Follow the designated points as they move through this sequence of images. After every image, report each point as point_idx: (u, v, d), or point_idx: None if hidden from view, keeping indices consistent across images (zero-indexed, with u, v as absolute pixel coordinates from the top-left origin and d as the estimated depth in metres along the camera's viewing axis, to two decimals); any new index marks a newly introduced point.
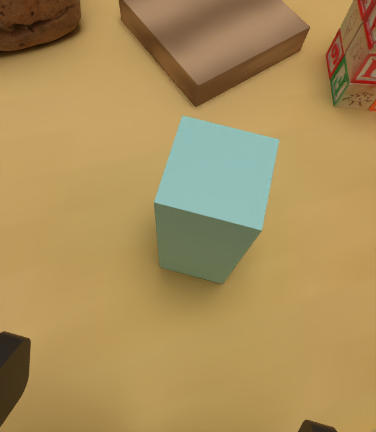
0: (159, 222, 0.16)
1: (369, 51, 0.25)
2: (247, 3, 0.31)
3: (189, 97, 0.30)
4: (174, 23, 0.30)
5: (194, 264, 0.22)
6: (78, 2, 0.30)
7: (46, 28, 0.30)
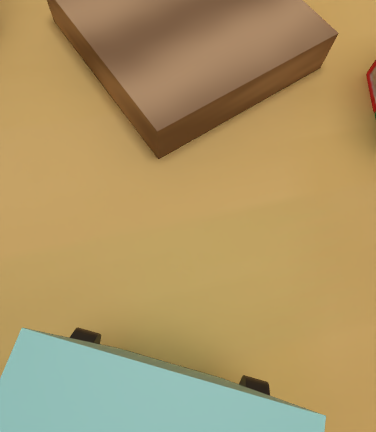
0: None
1: None
2: None
3: (148, 144, 0.19)
4: (124, 26, 0.19)
5: None
6: None
7: None
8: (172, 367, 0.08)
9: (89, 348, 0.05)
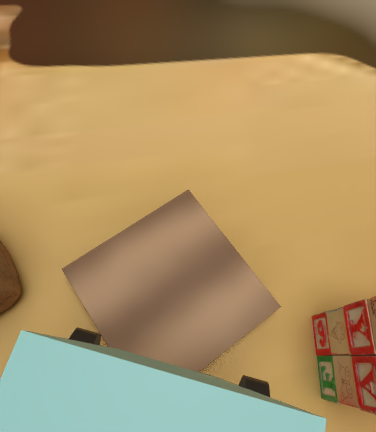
0: None
1: (359, 406, 0.21)
2: (209, 273, 0.28)
3: None
4: (124, 311, 0.26)
5: None
6: (14, 289, 0.26)
7: None
8: (172, 369, 0.08)
9: (88, 350, 0.05)
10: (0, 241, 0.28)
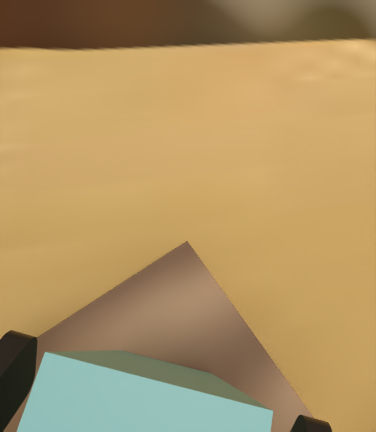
0: None
1: None
2: None
3: None
4: None
5: None
6: None
7: None
8: (164, 372, 0.09)
9: (96, 365, 0.07)
10: None
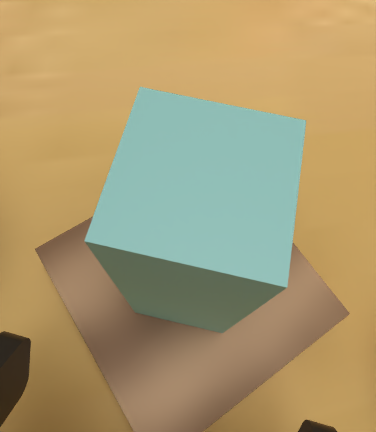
0: (108, 268, 0.10)
1: None
2: None
3: None
4: (122, 313, 0.18)
5: (179, 314, 0.15)
6: None
7: None
8: None
9: (177, 95, 0.09)
10: None
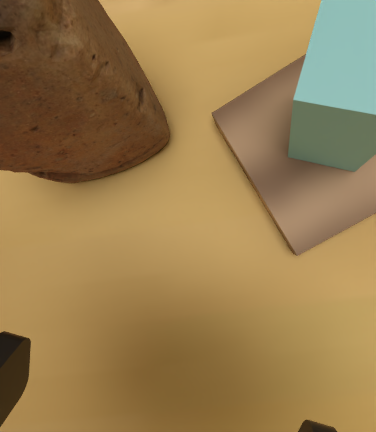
0: (295, 117, 0.16)
1: None
2: None
3: None
4: (276, 159, 0.25)
5: (326, 154, 0.21)
6: (166, 131, 0.26)
7: (134, 162, 0.28)
8: None
9: None
10: None
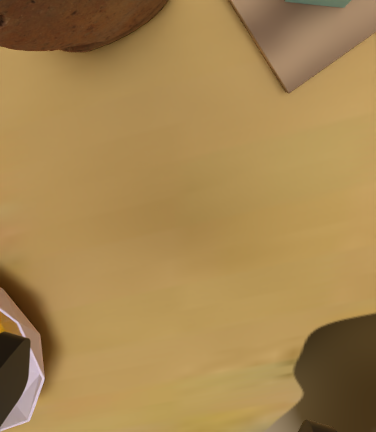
0: None
1: None
2: None
3: (280, 83, 0.32)
4: (269, 6, 0.28)
5: None
6: None
7: (141, 23, 0.30)
8: None
9: None
10: None
